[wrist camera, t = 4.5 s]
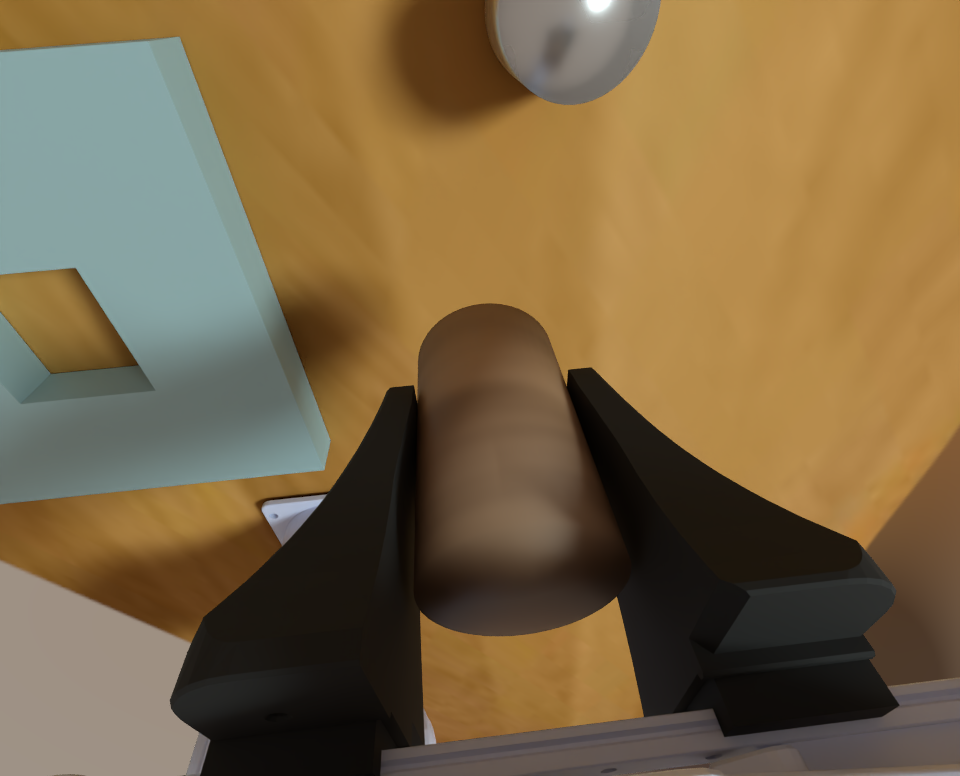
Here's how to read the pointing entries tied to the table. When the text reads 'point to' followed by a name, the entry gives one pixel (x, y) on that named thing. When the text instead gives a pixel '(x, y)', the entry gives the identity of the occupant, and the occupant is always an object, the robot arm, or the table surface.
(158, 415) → the hole board
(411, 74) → the table surface
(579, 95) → the grey round piece
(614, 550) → the walnut pin
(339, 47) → the table surface
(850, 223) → the table surface
